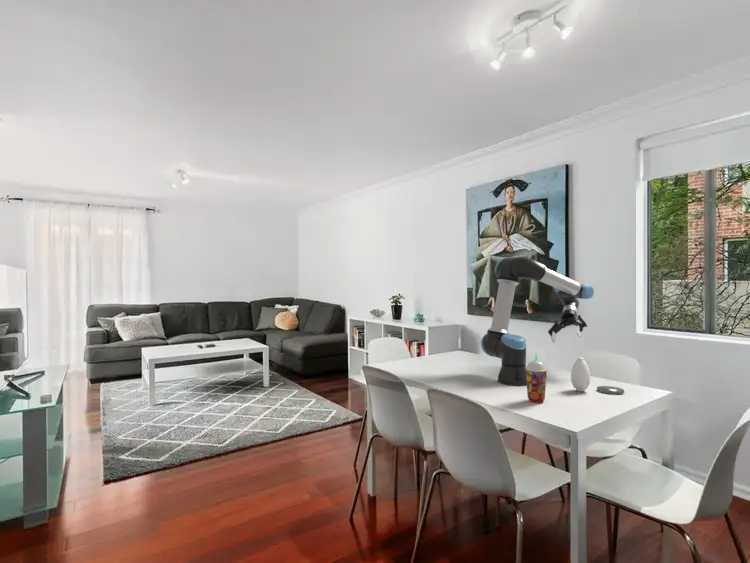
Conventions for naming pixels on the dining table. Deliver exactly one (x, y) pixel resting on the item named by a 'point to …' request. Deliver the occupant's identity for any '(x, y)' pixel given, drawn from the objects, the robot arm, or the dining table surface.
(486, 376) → the dining table surface
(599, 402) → the dining table surface
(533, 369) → the smoothie
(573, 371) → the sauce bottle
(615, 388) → the hub disc
